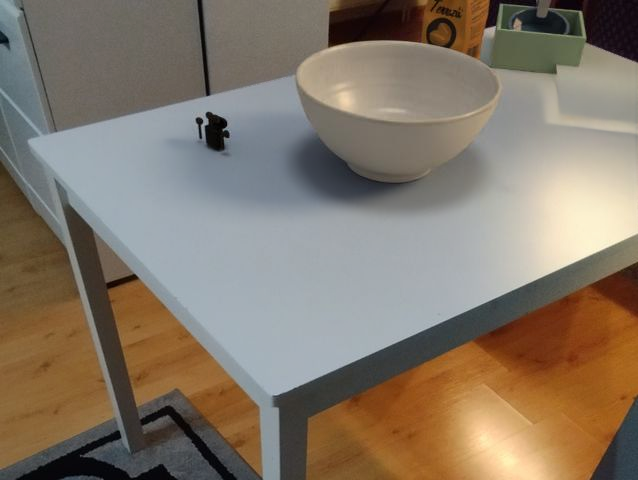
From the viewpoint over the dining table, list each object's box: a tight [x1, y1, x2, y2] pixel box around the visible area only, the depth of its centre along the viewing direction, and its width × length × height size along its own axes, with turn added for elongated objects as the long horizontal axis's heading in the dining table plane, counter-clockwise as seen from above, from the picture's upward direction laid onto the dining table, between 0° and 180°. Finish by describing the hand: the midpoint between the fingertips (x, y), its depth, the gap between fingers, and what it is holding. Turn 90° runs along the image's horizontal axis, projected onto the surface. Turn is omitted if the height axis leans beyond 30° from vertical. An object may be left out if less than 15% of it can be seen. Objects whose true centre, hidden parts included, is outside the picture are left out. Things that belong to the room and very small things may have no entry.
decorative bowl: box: [294, 40, 503, 184], centre depth 93 cm, size 27×27×12 cm
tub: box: [489, 3, 587, 75], centre depth 126 cm, size 15×15×6 cm
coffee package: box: [420, 0, 491, 61], centre depth 114 cm, size 10×12×22 cm
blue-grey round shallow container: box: [507, 6, 570, 35], centre depth 127 cm, size 11×11×4 cm
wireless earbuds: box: [195, 111, 231, 151], centre depth 97 cm, size 7×2×5 cm, turn 48°
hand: (540, 11), depth 127 cm, fingers open, 5 cm apart
